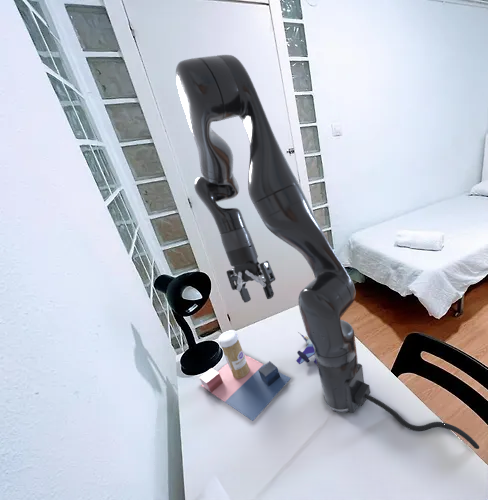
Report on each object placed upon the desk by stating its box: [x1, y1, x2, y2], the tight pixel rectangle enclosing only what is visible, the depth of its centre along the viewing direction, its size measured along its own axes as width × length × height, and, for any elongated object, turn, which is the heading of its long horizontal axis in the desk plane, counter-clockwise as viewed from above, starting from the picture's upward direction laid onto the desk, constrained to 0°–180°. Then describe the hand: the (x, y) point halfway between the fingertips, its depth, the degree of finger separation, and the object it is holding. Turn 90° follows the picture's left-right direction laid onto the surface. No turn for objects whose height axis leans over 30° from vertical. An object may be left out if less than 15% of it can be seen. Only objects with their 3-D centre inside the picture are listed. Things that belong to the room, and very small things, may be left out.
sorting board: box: [200, 353, 291, 422], centre depth 74 cm, size 21×13×1 cm, turn 58°
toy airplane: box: [295, 331, 317, 365], centre depth 81 cm, size 13×14×4 cm
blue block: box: [258, 360, 280, 386], centre depth 73 cm, size 4×4×4 cm
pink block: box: [199, 367, 223, 393], centre depth 74 cm, size 4×4×4 cm
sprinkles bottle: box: [218, 329, 249, 379], centre depth 74 cm, size 5×5×14 cm
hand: (259, 299), depth 80 cm, fingers open, 8 cm apart
